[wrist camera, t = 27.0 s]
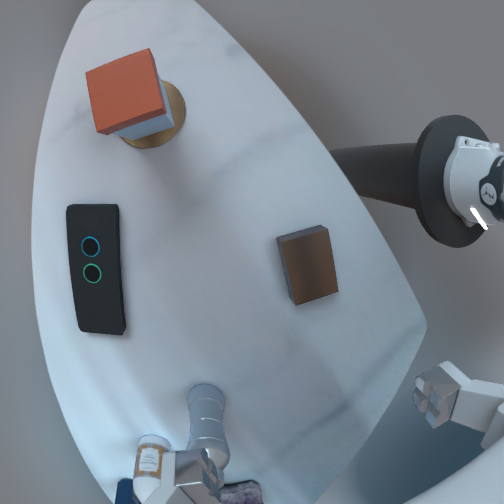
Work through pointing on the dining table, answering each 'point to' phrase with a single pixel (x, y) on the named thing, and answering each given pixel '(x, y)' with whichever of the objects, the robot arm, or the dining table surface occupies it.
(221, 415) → the plastic bottle
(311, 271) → the block
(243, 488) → the geode
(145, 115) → the container
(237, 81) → the dining table surface
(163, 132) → the coaster
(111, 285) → the smart home device
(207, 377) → the dining table surface
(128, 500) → the soda can
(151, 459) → the bath foam
